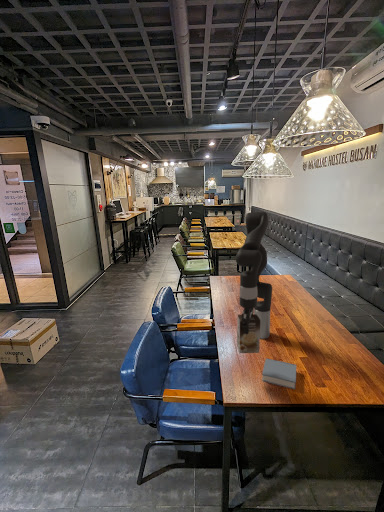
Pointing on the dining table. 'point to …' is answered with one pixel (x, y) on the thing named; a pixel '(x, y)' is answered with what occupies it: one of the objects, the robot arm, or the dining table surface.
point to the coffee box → (248, 335)
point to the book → (279, 373)
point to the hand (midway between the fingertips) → (247, 328)
